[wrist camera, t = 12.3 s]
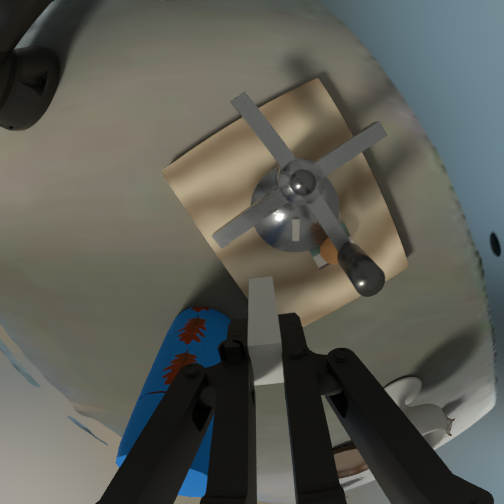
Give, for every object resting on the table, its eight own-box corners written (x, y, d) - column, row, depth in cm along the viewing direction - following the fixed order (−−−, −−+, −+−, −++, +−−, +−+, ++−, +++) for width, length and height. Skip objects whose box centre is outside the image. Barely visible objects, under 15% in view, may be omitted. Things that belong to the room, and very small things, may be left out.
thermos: (236, 305, 40) (214, 464, 16) (241, 359, 43) (230, 500, 20) (164, 305, 40) (95, 443, 17) (178, 358, 44) (136, 487, 20)
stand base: (166, 170, 33) (160, 171, 31) (314, 81, 29) (318, 77, 27) (276, 331, 41) (277, 340, 39) (403, 261, 37) (410, 267, 35)
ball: (312, 239, 33) (317, 249, 30) (337, 225, 33) (345, 233, 29) (324, 263, 35) (331, 274, 31) (349, 249, 34) (358, 259, 30)
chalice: (435, 374, 46) (464, 421, 32) (401, 414, 50) (420, 461, 36) (390, 369, 44) (418, 428, 30) (355, 414, 49) (371, 469, 35)
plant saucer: (293, 467, 59) (294, 476, 56) (346, 434, 52) (348, 444, 49) (344, 473, 62) (346, 481, 59) (394, 442, 56) (397, 450, 53)
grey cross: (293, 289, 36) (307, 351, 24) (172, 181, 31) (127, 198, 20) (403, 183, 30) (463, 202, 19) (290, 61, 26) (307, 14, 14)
